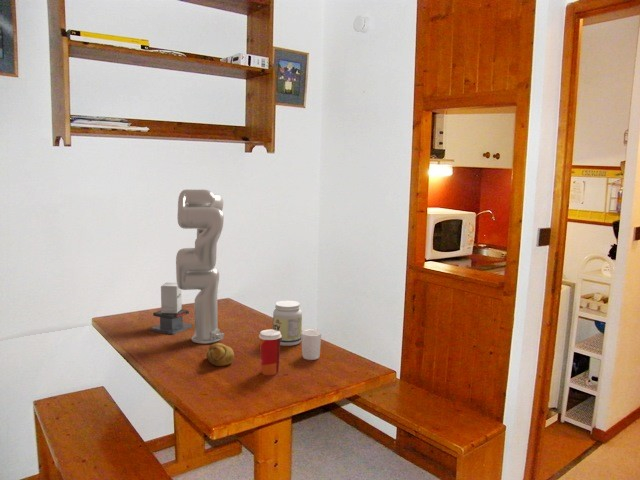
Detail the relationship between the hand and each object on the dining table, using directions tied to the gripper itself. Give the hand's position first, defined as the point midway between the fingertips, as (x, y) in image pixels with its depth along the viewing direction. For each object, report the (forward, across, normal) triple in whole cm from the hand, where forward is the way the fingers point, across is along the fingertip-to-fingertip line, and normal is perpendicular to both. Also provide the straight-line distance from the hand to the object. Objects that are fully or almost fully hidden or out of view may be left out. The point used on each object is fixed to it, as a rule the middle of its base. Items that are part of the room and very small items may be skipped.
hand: (204, 257), depth 251 cm
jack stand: (+30, -17, +11) cm, 36 cm away
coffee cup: (+31, -63, -42) cm, 82 cm away
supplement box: (+22, -17, +10) cm, 30 cm away
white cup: (+31, -46, -55) cm, 78 cm away
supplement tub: (+31, -30, -44) cm, 61 cm away
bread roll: (+31, -55, -21) cm, 66 cm away
